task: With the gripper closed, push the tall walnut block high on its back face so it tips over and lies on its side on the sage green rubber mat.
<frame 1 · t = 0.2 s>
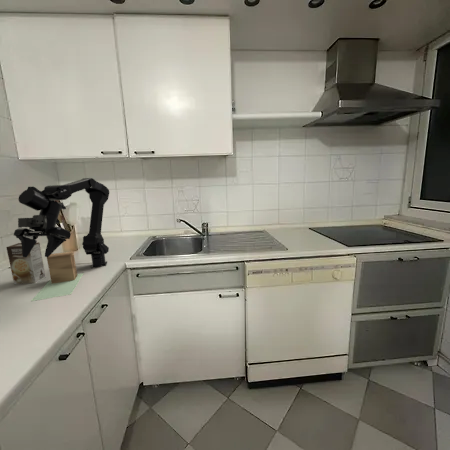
hand: (35, 257, 82), 15 cm above the countertop, tool tilted 30°, fingers open, 9 cm apart
walnut block: (65, 279, 98), resting on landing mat
coffee box: (30, 281, 100), on the countertop
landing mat: (60, 286, 93), on the countertop
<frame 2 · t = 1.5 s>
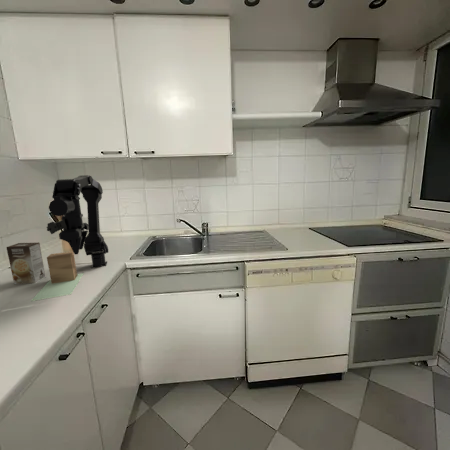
hand: (78, 251, 93), 13 cm above the countertop, tool pointing down, fingers open, 7 cm apart
nothing on the countertop moved.
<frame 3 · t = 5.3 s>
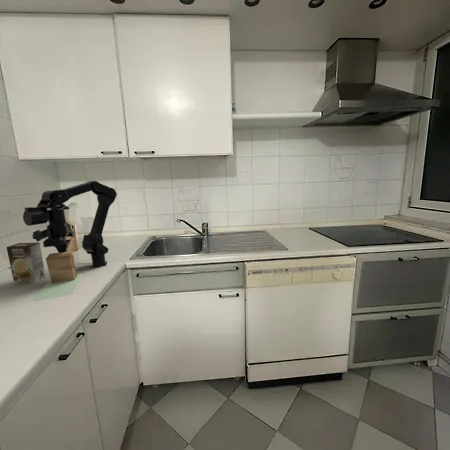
hand: (63, 257, 100), 9 cm above the countertop, tool pointing down, fingers closed
walnut block: (64, 279, 98), point 1 cm above the countertop, tilted 6°, touching gripper, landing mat
everything else where it was.
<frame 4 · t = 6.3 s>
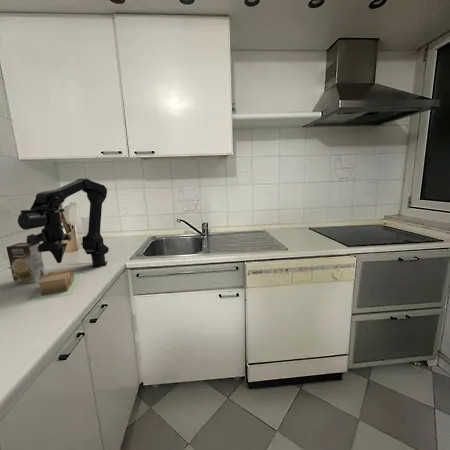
hand: (59, 262, 94), 9 cm above the countertop, tool pointing down, fingers closed
walnut block: (62, 276, 96), point 3 cm above the countertop, tilted 90°, touching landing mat
everything else where it was.
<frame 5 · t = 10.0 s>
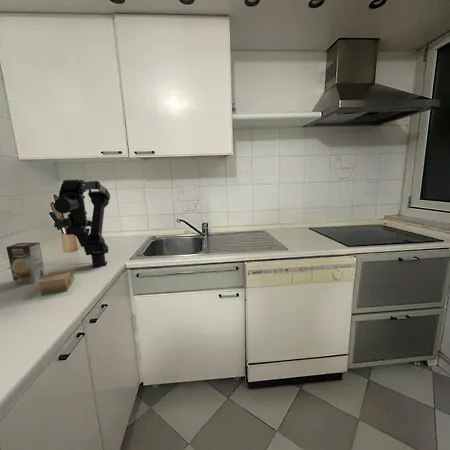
hand: (83, 246, 101), 13 cm above the countertop, tool pointing down, fingers closed
nothing on the countertop moved.
at the end: walnut block tilted 90°; walnut block inside the target area (2.0 cm from its centre), point 2.9 cm above the countertop; walnut block touching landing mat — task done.
